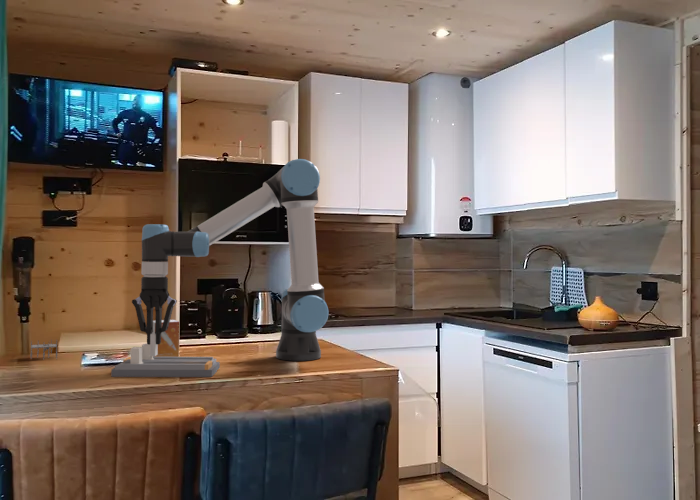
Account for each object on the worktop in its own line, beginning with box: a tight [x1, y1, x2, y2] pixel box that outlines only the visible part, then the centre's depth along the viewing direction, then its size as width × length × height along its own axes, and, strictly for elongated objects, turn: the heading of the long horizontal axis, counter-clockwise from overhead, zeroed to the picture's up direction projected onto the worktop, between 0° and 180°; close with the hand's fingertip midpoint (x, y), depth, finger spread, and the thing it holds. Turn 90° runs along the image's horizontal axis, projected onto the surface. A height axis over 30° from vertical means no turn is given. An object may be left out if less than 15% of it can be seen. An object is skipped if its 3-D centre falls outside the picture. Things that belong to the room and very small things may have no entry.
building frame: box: [29, 339, 58, 361], centre depth 203 cm, size 6×8×6 cm
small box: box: [152, 319, 180, 357], centre depth 200 cm, size 8×6×13 cm
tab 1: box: [130, 346, 143, 364], centre depth 178 cm, size 3×3×5 cm
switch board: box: [110, 356, 221, 378], centre depth 182 cm, size 28×13×4 cm, turn 92°
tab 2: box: [141, 342, 154, 360], centre depth 185 cm, size 3×3×5 cm
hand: (153, 355), depth 185 cm, fingers closed
